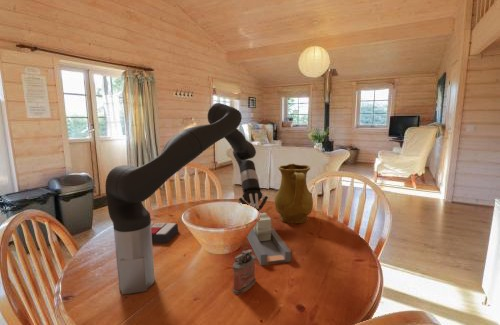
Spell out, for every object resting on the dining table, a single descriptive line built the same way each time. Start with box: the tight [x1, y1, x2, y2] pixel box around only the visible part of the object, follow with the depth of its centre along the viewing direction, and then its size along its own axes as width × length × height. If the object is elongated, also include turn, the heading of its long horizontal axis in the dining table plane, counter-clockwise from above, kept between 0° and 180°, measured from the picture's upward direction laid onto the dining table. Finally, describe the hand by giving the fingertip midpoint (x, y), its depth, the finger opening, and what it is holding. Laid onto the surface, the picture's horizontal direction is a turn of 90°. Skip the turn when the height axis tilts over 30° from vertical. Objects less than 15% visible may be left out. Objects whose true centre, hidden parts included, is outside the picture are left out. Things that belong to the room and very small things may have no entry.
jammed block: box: [253, 212, 272, 241], centre depth 101 cm, size 7×5×8 cm
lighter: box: [232, 249, 257, 295], centre depth 73 cm, size 8×3×10 cm, turn 141°
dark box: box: [151, 222, 179, 244], centre depth 105 cm, size 11×4×15 cm
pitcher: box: [274, 163, 314, 224], centre depth 120 cm, size 17×19×25 cm
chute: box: [246, 225, 292, 266], centre depth 99 cm, size 28×10×4 cm, turn 13°
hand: (256, 219), depth 108 cm, fingers closed
